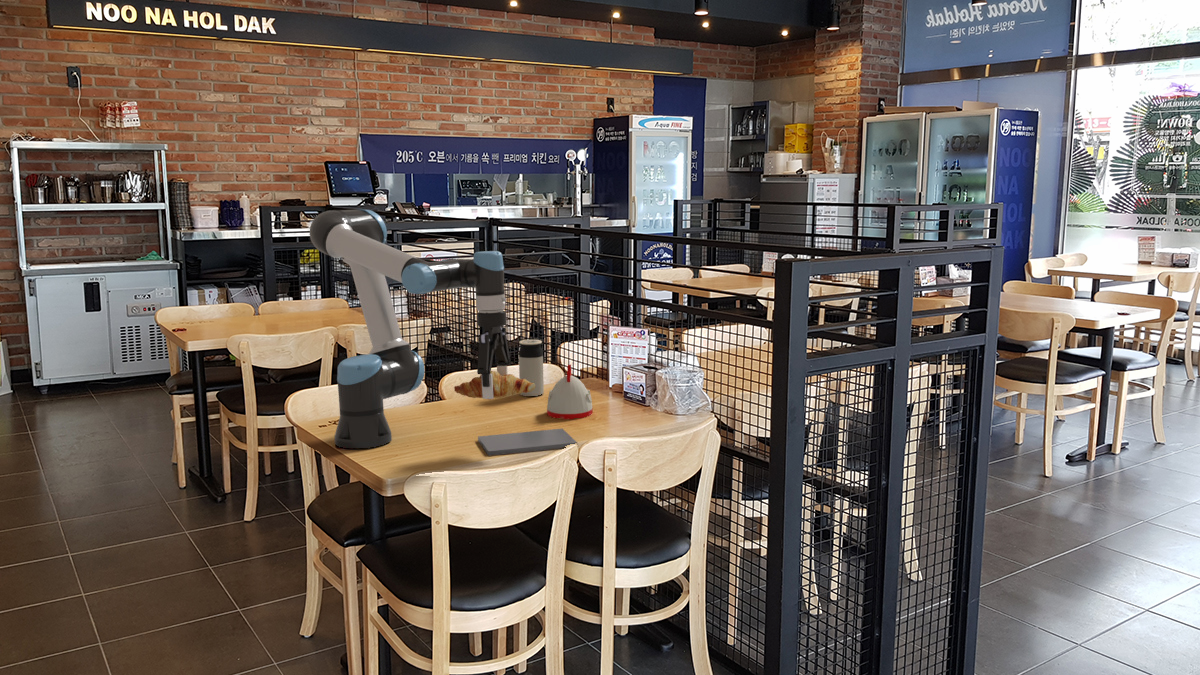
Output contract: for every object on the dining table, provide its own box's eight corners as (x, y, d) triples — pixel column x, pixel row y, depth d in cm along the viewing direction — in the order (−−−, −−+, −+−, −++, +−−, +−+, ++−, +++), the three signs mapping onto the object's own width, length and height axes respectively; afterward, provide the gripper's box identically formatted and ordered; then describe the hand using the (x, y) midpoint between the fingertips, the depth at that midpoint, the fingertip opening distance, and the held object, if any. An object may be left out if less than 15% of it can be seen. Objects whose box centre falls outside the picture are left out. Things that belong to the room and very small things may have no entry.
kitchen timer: (593, 408, 286) (592, 361, 284) (591, 419, 272) (591, 370, 270) (549, 408, 287) (548, 361, 284) (545, 419, 273) (544, 370, 270)
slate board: (488, 456, 237) (488, 451, 236) (478, 441, 251) (477, 436, 250) (577, 447, 244) (577, 442, 244) (562, 433, 258) (562, 428, 258)
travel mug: (534, 398, 300) (532, 344, 297) (515, 395, 304) (513, 342, 301) (548, 393, 306) (547, 340, 303) (529, 390, 311) (528, 338, 308)
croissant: (534, 402, 246) (532, 374, 248) (537, 392, 236) (535, 363, 239) (455, 406, 242) (454, 378, 245) (454, 396, 233) (453, 366, 236)
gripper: (488, 316, 226) (493, 404, 229) (519, 305, 248) (523, 385, 251) (460, 316, 228) (465, 403, 231) (493, 305, 249) (498, 384, 253)
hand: (495, 394), depth 241 cm, fingers closed on croissant, 10 cm apart
